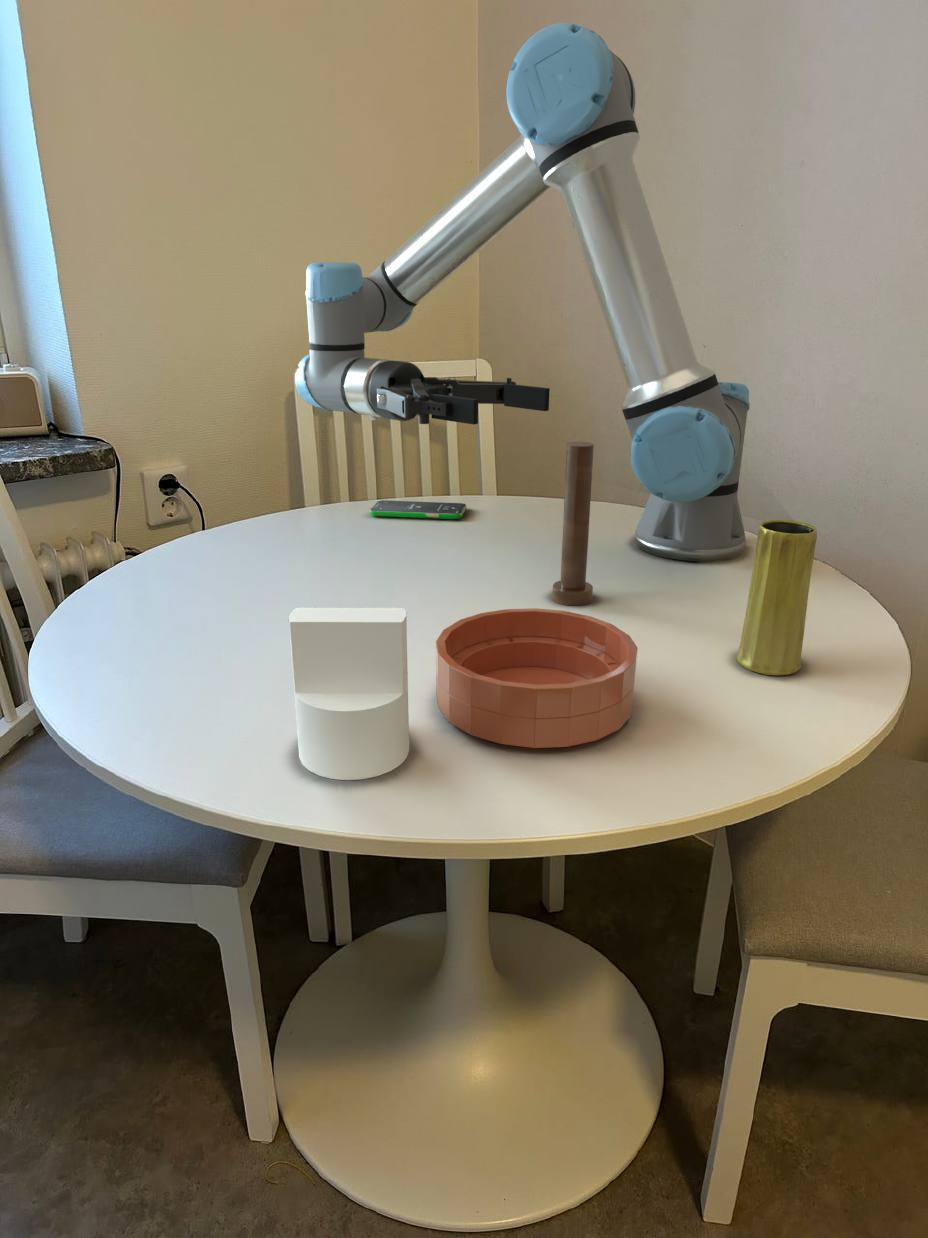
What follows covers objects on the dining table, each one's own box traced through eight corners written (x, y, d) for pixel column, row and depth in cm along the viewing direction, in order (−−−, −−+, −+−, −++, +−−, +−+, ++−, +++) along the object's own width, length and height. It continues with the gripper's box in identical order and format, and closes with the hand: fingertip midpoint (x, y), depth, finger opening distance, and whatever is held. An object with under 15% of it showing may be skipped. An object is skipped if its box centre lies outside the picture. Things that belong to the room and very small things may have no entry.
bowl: (605, 661, 88) (609, 606, 86) (655, 749, 72) (662, 684, 70) (432, 666, 87) (431, 610, 85) (443, 758, 71) (442, 692, 68)
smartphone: (378, 499, 146) (467, 502, 144) (378, 505, 146) (467, 508, 144) (367, 510, 139) (461, 514, 137) (367, 516, 139) (461, 520, 137)
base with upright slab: (289, 780, 68) (278, 637, 63) (308, 724, 76) (299, 594, 72) (406, 780, 68) (402, 637, 63) (412, 724, 76) (409, 594, 72)
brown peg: (587, 591, 108) (596, 439, 101) (596, 605, 103) (606, 447, 96) (548, 592, 107) (555, 440, 100) (556, 606, 103) (563, 448, 96)
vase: (800, 680, 84) (823, 538, 79) (734, 671, 86) (752, 531, 81) (800, 656, 90) (822, 521, 84) (738, 647, 92) (756, 515, 86)
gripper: (450, 408, 126) (572, 424, 113) (316, 429, 109) (442, 452, 96) (450, 354, 123) (575, 364, 110) (312, 367, 106) (441, 381, 93)
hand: (513, 405), depth 103 cm, fingers open, 13 cm apart
